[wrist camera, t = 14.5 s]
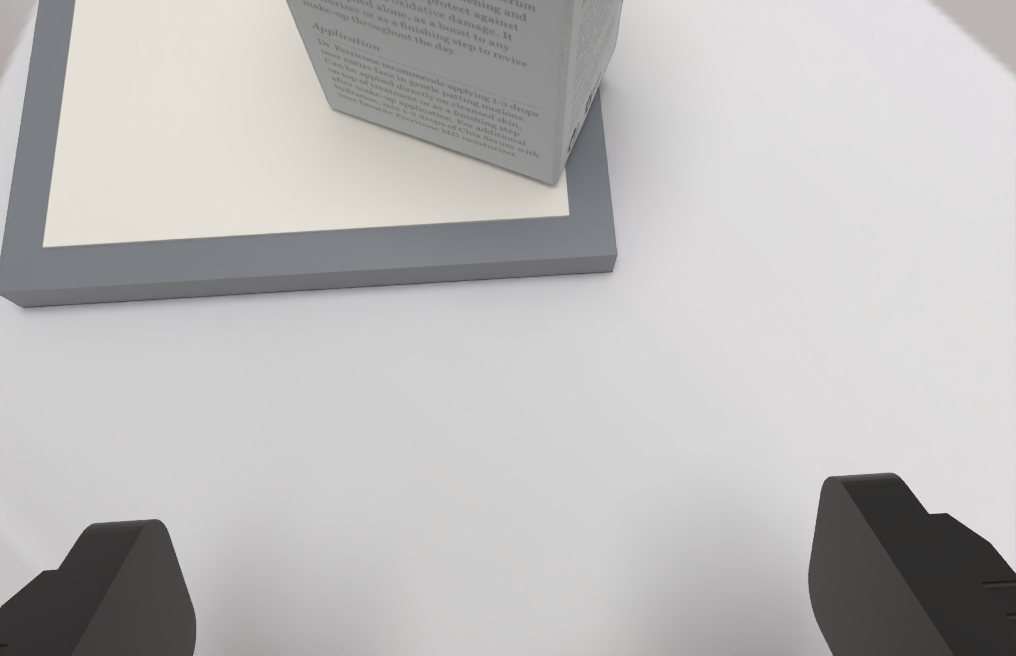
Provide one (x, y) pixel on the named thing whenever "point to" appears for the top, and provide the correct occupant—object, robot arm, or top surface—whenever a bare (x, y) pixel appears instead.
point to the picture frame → (254, 171)
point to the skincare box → (466, 70)
